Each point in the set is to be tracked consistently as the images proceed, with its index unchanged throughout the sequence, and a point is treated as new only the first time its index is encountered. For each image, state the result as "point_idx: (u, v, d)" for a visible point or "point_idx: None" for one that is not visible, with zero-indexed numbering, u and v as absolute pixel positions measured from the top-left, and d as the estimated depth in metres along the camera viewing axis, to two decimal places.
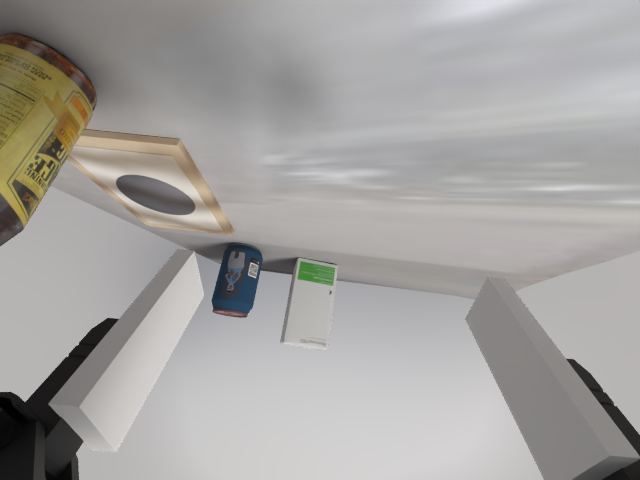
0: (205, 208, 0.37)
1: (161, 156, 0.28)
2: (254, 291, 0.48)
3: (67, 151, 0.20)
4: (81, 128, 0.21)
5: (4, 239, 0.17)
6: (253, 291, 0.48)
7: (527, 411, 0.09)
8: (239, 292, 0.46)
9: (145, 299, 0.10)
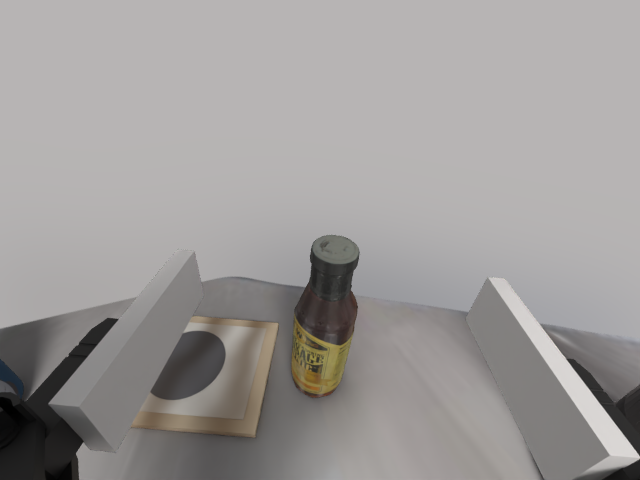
0: (146, 408, 0.29)
1: (244, 408, 0.30)
2: None
3: (303, 367, 0.29)
4: (302, 379, 0.30)
5: (308, 319, 0.25)
6: None
7: (527, 410, 0.09)
8: None
9: (145, 299, 0.10)
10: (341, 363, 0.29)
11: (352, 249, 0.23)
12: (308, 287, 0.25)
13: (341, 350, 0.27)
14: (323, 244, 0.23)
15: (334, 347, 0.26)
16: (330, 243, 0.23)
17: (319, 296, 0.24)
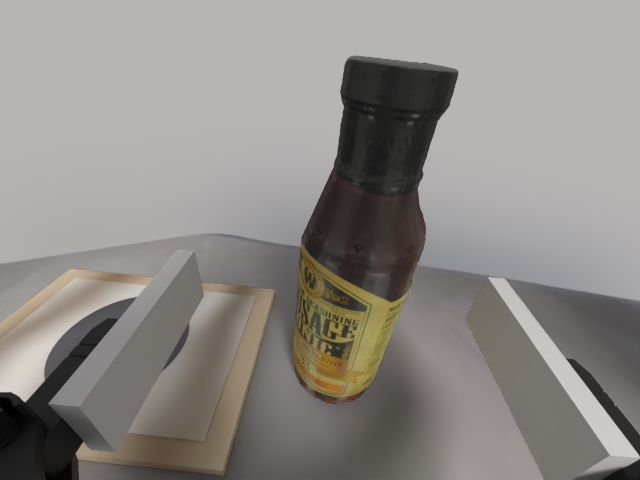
0: None
1: (208, 419, 0.17)
2: None
3: (315, 348, 0.16)
4: (312, 370, 0.17)
5: (332, 242, 0.12)
6: None
7: (527, 410, 0.09)
8: None
9: (145, 299, 0.10)
10: (384, 342, 0.16)
11: None
12: (332, 177, 0.12)
13: (391, 314, 0.14)
14: None
15: (379, 306, 0.13)
16: (386, 59, 0.10)
17: (358, 185, 0.11)
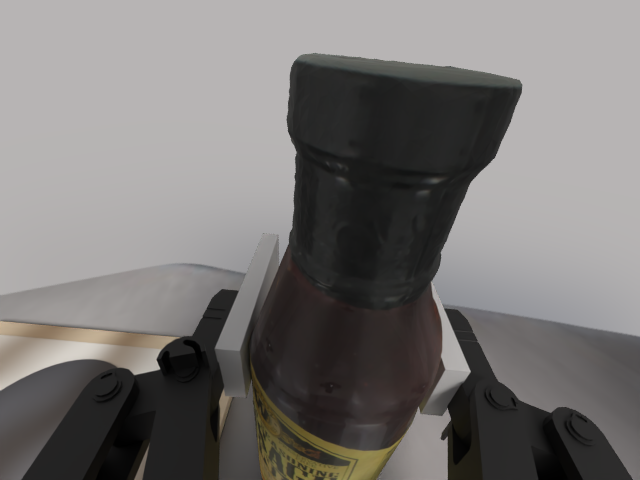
0: None
1: None
2: None
3: None
4: None
5: (287, 372, 0.07)
6: None
7: None
8: None
9: (254, 273, 0.11)
10: (380, 470, 0.11)
11: None
12: (287, 258, 0.07)
13: (389, 454, 0.09)
14: None
15: (370, 457, 0.08)
16: (374, 60, 0.05)
17: (327, 290, 0.06)
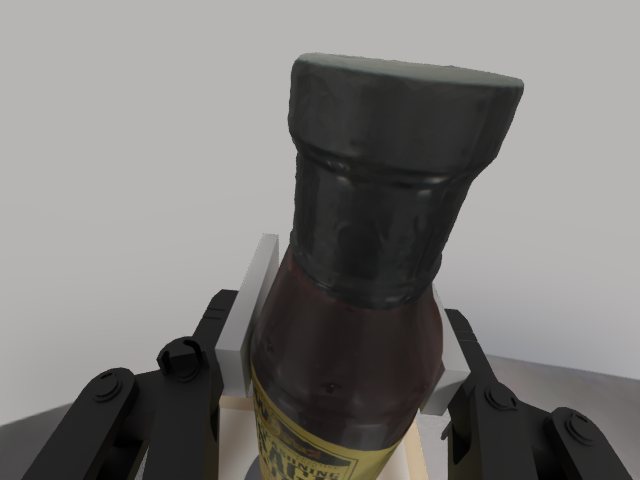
0: None
1: None
2: None
3: None
4: None
5: (287, 372, 0.07)
6: None
7: None
8: None
9: (254, 273, 0.11)
10: None
11: None
12: (287, 258, 0.07)
13: (390, 454, 0.09)
14: None
15: (371, 457, 0.08)
16: None
17: (328, 289, 0.06)
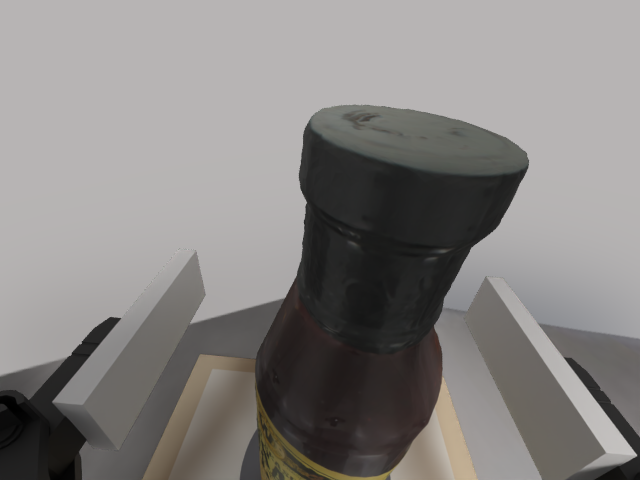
0: None
1: None
2: None
3: None
4: None
5: (293, 405, 0.07)
6: None
7: (525, 409, 0.09)
8: None
9: (147, 298, 0.10)
10: None
11: (487, 135, 0.05)
12: (294, 295, 0.07)
13: None
14: (359, 116, 0.05)
15: None
16: (384, 116, 0.06)
17: (334, 334, 0.06)
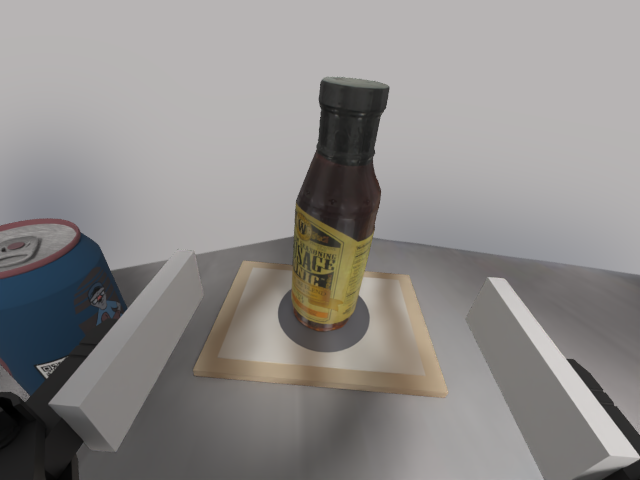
0: (299, 361, 0.23)
1: (419, 362, 0.23)
2: (4, 343, 0.15)
3: (307, 282, 0.22)
4: (306, 302, 0.23)
5: (315, 198, 0.18)
6: (11, 342, 0.15)
7: (527, 411, 0.09)
8: (71, 309, 0.16)
9: (145, 299, 0.10)
10: (357, 277, 0.22)
11: (379, 83, 0.16)
12: (315, 155, 0.18)
13: (358, 251, 0.20)
14: (338, 78, 0.16)
15: (349, 243, 0.19)
16: (347, 79, 0.17)
17: (331, 159, 0.17)
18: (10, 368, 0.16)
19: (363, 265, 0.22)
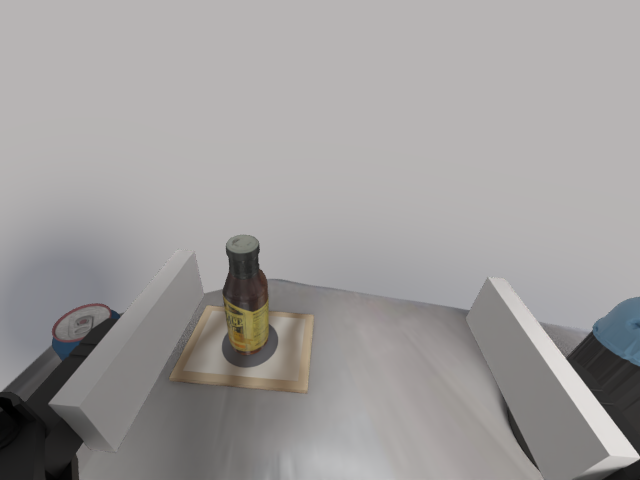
0: (229, 372, 0.41)
1: (297, 373, 0.42)
2: None
3: (231, 329, 0.40)
4: (233, 339, 0.41)
5: (228, 292, 0.36)
6: None
7: (527, 411, 0.09)
8: None
9: (145, 299, 0.10)
10: (259, 327, 0.40)
11: (253, 244, 0.34)
12: (229, 270, 0.37)
13: (255, 316, 0.38)
14: (235, 240, 0.35)
15: (248, 313, 0.37)
16: (240, 240, 0.35)
17: (234, 276, 0.35)
18: None
19: (262, 320, 0.40)
